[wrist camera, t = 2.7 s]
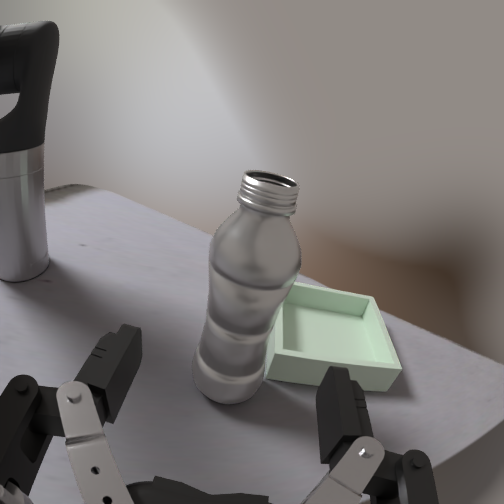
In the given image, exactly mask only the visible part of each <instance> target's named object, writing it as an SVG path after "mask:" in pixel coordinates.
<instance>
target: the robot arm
mask: <svg viewBox="0 0 504 504" xmlns="http://www.w3.org/2000/svg"><path fill="white" fill-rule="evenodd" d="M58 48H59V30H58V27H57V25H56V24H55V23H54V22H52V21H38V22H29V23H21V24H14V25H7V26H0V95H1V94H11V93H20V95H19V99H18V102H17V105H16V106H15V108H14V109H13V110H12V111H11V112H10V113H8V114H7V115H6V116H4V117H3V118H1V119H0V279H3V280H5V281H11V282H18V281H24V280H29V279H31V278H34V277H36V276H38V275H39V274H41V273H42V272H43V271H44V270H45V269H46V268H47V267H48V265H49V254H48V245H47V233H46V220H45V202H44V140H45V138H44V137H45V126H46V120H47V112H48V103H49V102H48V101H49V95H50V89H51V83H52V78H53V74H54V69H55V64H56V59H57V54H58ZM141 359H142V338H141V329H140V328H138V327H134V326H131V325H127V324H123V325H122V326H121V328H120V329H119V331H118V332H117V334H115V333H112V332H109V333H108V334H106V335H105V336H103V337H102V338H101V339H100V340H99V342H98V343H97V345H96V346H95V348H94V349H93V351H92V352H91V355H90V356H89V357H88V359H87V360H86V362H85V363H84V365H83V367H82V368H81V370H80V371H79V373H78V375H77V376H76V378H75V379H74V380H73V381H69V382H66V383H64V384H62V385H61V386H60V387H59V388H54V387H45V386H38V384H37V382H36V380H35V379H34V378H33V377H31V376H29V375H18V376H16V377H14V378H13V379H11V380H10V382H9V383H8V385H7V386H6V388H5V389H4V391H3V393H2V394H1V396H0V504H33V502H32V500H31V499H30V498H29V497H28V496H29V493H30V491H31V488H32V485H33V483H34V480H35V478H36V475H37V473H38V470H39V468H40V465H41V463H42V461H43V458H44V456H45V454H46V451H47V449H48V447H49V444H50V442H51V440H52V438H53V436H61V437H66V441H65V444H66V449H67V452H68V456H69V459H70V462H71V466H72V469H73V472H74V475H75V478H76V481H77V484H78V487H79V490H80V493H81V495H82V498H83V501H84V503H85V504H272V503H269V502H268V498H269V496H262V495H252V494H244V493H236V494H220V495H211V494H207V493H205V492H202V491H200V490H198V489H195V488H193V487H191V486H189V485H187V484H184V483H182V482H178V481H174V480H170V479H166V478H162V477H158V476H155V477H154V480H153V481H144V482H136V483H132V484H129V485H126V486H125V483H124V481H123V479H122V477H121V474H120V472H119V470H118V467H117V465H116V462H115V460H114V457H113V455H112V452H111V450H110V447H109V445H108V442H107V439H106V437H105V434H104V431H103V429H102V428H103V426H104V424H105V421H106V422H109V423H112V424H114V421H115V419H116V417H117V415H118V412H119V410H120V408H121V406H122V403H123V401H124V399H125V397H126V395H127V392H128V390H129V388H130V386H131V384H132V382H133V379H134V377H135V375H136V373H137V371H138V369H139V366H140V363H141ZM316 409H317V421H318V433H319V446H320V460H321V464H329V465H330V470H329V471H328V472H327V474H326V475H325V476H324V477H323V478H322V480H321V481H320V482H319V483H318V484H317V486H316V487H315V488H314V489H313V490H312V491H311V492H310V494H309V495H308V496H307V497H306V498H305V499H304V500H303V501H302V502H301V503H300V504H358V503H359V501H360V500H361V498H362V495H361V493H364V494H368V495H370V501H371V504H439V503H438V497H437V492H436V486H435V481H434V476H433V472H432V467H431V463H430V460H429V458H428V456H427V455H426V454H425V453H424V452H422V451H420V450H409V451H407V452H406V453H405V454H404V455H400V454H397V453H393V452H389V451H386V450H384V448H383V446H382V444H381V443H380V442H379V441H378V440H376V439H375V438H374V437H373V433H372V428H371V423H370V419H369V414H368V410H367V405H366V401H365V397H364V392H363V389H362V388H361V386H360V385H359V383H358V382H357V381H356V380H351V379H350V375H349V370H348V368H345V367H336V366H330V367H329V368H328V370H327V372H326V374H325V376H324V378H323V380H322V382H321V384H320V386H319V388H318V390H317V394H316Z"/></svg>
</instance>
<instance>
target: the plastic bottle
mask: <svg viewBox="0 0 504 504" xmlns="http://www.w3.org/2000/svg"><path fill="white" fill-rule="evenodd" d="M298 192H299V184H298V183H297V182H296V181H294V180H292V179H290V178H288V177H285V176H282V175H279V174H275V173H271V172H266V171H259V170H248V171H245V172H244V175H243V178H242V183H241V189H240V191H239V192H238V196H237V201H238V202H239V203H240V204H241V205H240V208H239V209H237V210H236V211H235V212H234V213H233V214H232V215H230V216H229V217H228V218H227V219H226V220H225V221H224V222H223V223H222V224H221V225H220V227H219V228H218V229H217V230H216V232H215V234H214V236H213V238H212V240H211V242H210V247H209V293H208V303H207V313H206V321H205V325H204V328H203V332H202V336H201V340H200V342H199V344H198V346H197V348H196V351H195V354H194V357H193V361H192V372H193V378H194V382H195V384H196V386H197V387H198V389H199V390H200V391H201V392H202V393H203V394H204V395H205V396H207V397H208V398H210V399H211V400H213V401H216V402H218V403H223V404H236V403H241V402H244V401H246V400H248V399H250V398H251V397H252V396H253V395H254V394H255V392H256V391H257V390H258V388H259V387H260V385H261V384H262V381H263V377H264V371H265V357H266V352H267V348H268V343H269V339H270V334H271V332H272V329H273V327H274V324H275V322H276V319H277V317H278V314H279V312H280V309H281V307H282V305H283V303H284V301H285V299H286V297H287V296H288V294H289V292H290V290H291V288H292V286H293V284H294V281H295V280H296V278H297V275H298V273H299V270H300V268H301V248H300V245H299V242H298V239H297V236H296V233H295V231H294V229H293V227H292V225H291V222H290V220H289V219H290V216H291V215H293V214H294V213H295V211H296V207H297V205H296V200H297V196H298Z"/></svg>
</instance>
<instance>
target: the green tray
mask: <svg viewBox="0 0 504 504" xmlns="http://www.w3.org/2000/svg"><path fill="white" fill-rule="evenodd" d="M330 366H336V367H345V368H348V370H349V375H350V379H351V380H356V381H357V382H358V383H359V385H360V386H361V388H362V389H363V390H366V391H381V392H387V390H388V389H389V388H390V386H391V385H392V383H393V382H394V380H395V379H396V378H397V376H398V375H399V373H400V372H401V370H402V367H401V365H400V362H399V359H398V357H397V354H396V351H395V349H394V346H393V344H392V341H391V339H390V336H389V334H388V331H387V329H386V326H385V324H384V321H383V319H382V316H381V314H380V312H379V309H378V307H377V305H376V302H375V300H374V298H373V297H371V296H365V295H360V294H355V293H350V292H344V291H339V290H334V289H329V288H324V287H319V286H314V285H309V284H304V283H299V282H294V284H293V286H292V288H291V290H290V292H289V294H288V296H287V297H286V299H285V301H284V303H283V305H282V307H281V309H280V312H279V314H278V317H277V319H276V322H275V324H274V327H273V329H272V332H271V334H270V339H269V343H268V348H267V364H266V379H272V380H278V381H285V382H292V383H299V384H307V385H315V386H320V384H321V382H322V380H323V378H324V376H325V374H326V372H327V370H328V368H329V367H330Z"/></svg>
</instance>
